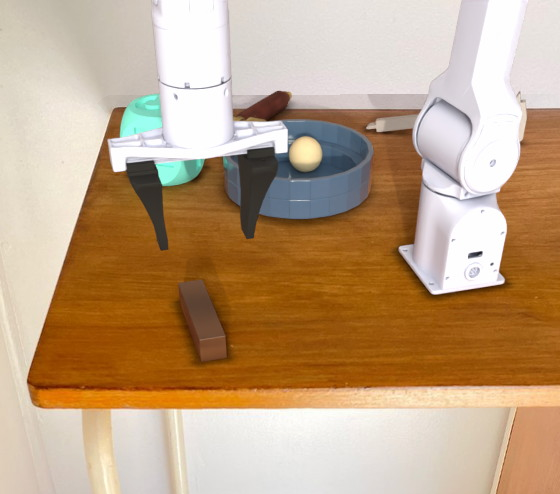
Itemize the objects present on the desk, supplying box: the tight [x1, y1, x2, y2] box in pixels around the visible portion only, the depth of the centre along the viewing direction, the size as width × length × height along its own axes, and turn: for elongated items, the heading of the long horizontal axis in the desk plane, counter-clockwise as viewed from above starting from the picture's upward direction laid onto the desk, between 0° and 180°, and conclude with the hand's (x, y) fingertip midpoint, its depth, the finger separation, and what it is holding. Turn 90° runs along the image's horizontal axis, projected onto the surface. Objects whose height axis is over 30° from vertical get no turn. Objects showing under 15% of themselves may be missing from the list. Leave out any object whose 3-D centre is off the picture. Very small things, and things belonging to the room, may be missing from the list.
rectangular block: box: [177, 279, 228, 363], centre depth 79 cm, size 10×2×2 cm, turn 16°
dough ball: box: [289, 136, 322, 172], centre depth 102 cm, size 4×4×4 cm
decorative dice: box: [119, 93, 206, 187], centre depth 101 cm, size 8×8×8 cm
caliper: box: [365, 90, 528, 142], centre depth 110 cm, size 20×1×6 cm, turn 77°
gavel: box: [233, 90, 293, 122], centre depth 113 cm, size 21×5×10 cm
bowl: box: [222, 118, 375, 220], centre depth 99 cm, size 17×17×5 cm
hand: (205, 239), depth 75 cm, fingers open, 7 cm apart
